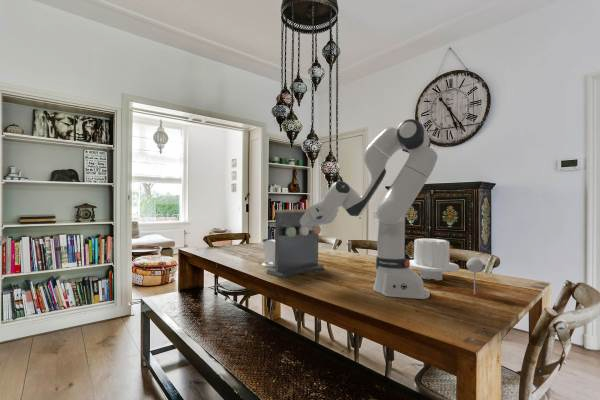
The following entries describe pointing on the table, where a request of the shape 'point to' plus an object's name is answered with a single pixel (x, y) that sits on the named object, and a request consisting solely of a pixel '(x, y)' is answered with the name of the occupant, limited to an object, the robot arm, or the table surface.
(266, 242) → the metal pitcher
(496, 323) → the table surface
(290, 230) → the sage button
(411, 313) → the table surface
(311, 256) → the button panel
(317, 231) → the terracotta button
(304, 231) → the cream button
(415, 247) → the white brimmed cylinder
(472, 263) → the lollipop
